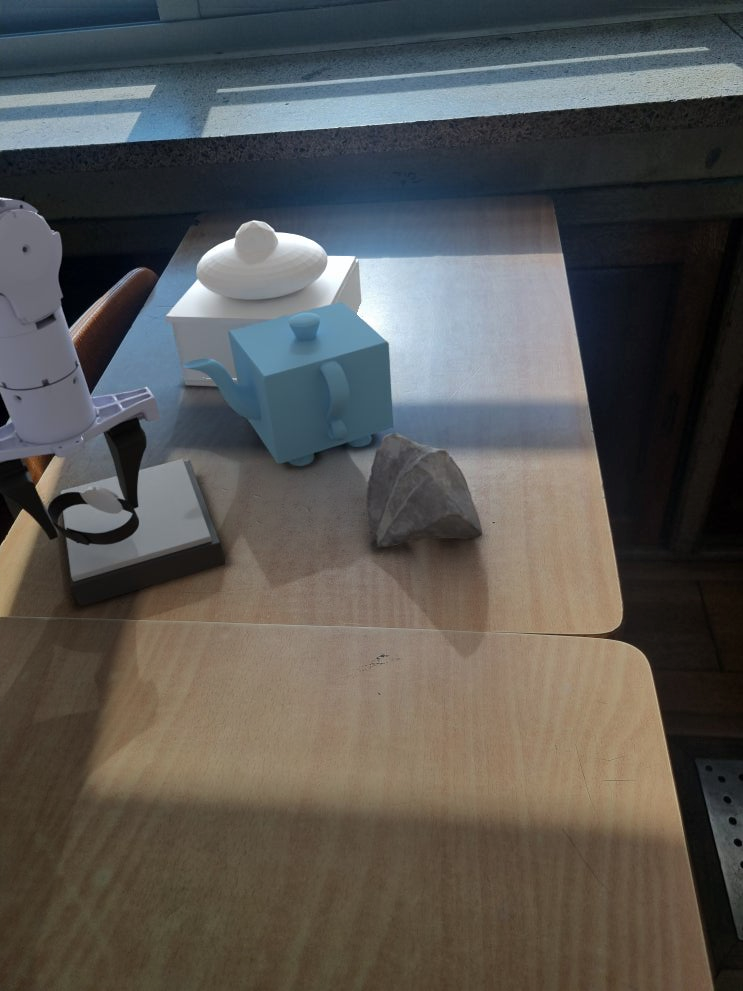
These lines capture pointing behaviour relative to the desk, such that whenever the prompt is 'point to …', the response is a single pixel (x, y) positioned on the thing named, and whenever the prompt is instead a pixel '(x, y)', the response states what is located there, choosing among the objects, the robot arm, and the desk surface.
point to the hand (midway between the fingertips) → (91, 517)
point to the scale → (143, 535)
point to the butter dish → (255, 291)
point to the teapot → (308, 381)
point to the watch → (102, 502)
